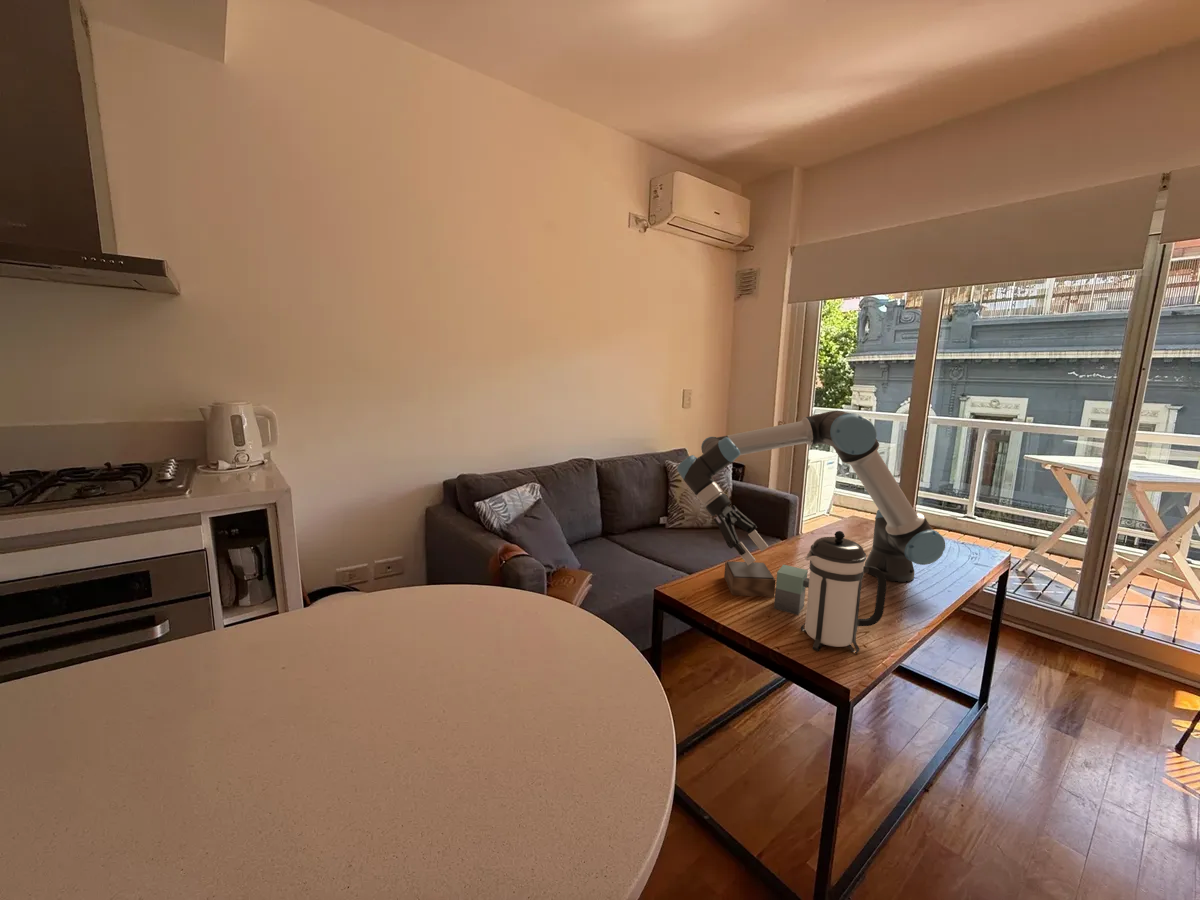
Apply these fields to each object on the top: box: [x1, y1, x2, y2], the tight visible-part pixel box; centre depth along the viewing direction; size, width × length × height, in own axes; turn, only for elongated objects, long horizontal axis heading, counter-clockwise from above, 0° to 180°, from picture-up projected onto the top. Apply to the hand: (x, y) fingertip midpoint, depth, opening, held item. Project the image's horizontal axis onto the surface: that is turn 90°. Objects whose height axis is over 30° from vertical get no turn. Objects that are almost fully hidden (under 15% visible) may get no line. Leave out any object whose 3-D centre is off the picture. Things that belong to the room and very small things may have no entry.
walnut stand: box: [723, 560, 777, 598], centre depth 162 cm, size 13×13×6 cm
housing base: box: [773, 587, 807, 616], centre depth 149 cm, size 7×7×6 cm
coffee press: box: [800, 530, 887, 654], centre depth 129 cm, size 17×16×30 cm
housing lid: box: [775, 564, 809, 594], centre depth 147 cm, size 7×9×5 cm
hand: (758, 555), depth 152 cm, fingers open, 13 cm apart
